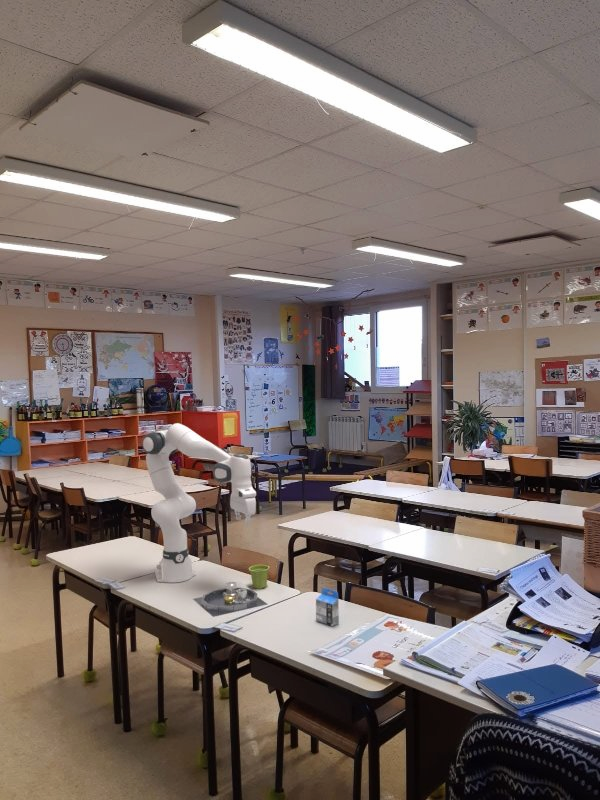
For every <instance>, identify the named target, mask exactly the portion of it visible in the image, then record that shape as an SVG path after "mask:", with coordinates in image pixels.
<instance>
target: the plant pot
mask: <svg viewBox="0 0 600 800" xmlns="http://www.w3.org/2000/svg"><path fill="white" fill-rule="evenodd" d="M269 569H270V566H269V565H266V564H265V565H264V564H256V565H251V566H250V567H248V571H249V573H250V577H251V583H252V587H253V588H255V589H257V590H258V589H263V588H266V587H267V586H268V585H267V584H268V572H269V571H270V570H269Z"/></svg>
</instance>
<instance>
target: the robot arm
mask: <svg viewBox="0 0 600 800" xmlns="http://www.w3.org/2000/svg"><path fill="white" fill-rule="evenodd" d="M141 444H142V449H143V451H144V452H145V453H146V455H145V462H146V467H147V471H148V472H147V473H148V474H149V477H150V481H151V483H152V486H153V488H154V490H155V492H157V493H159V494H160V495H162V496H163V497H164V499H162V500H160V501H158V502H156V503H155V504H153V506H152V507H151V510H150V511H151V512H150V513H151V514H150V515H151V518H152V520H153V521H154V522H155V523H157V524H158V525H159V528H160V529H161V532H162V538H163V550H162V558H161V560H160V561H159V564H156V571H154V575H155V578H156V583H157V582H158V583H163V582H164V583H181V582H186V581H189V580H190V579H192V577H194V576H196V575H197V574H196V572H195V571H193V570H194V569H193V560H192V558H191V557H190V555H189V553H190V551H189V547H188V535H187V534H188V533H187V531H186V529H184V528H182V526H181V523H180V520H182V519H185V518H188V517H189V516H190V515H192V514H194V512H195V511H196V508H197V503H196V500H195V498H194V497H193V496H192V495H190V494H188V493H187V492H186V491H184V489H183V488H182V486H180V484H179V482H178V480H177V477H176V476H175V473H174V470H173V467H172V465H171V463H170V458H169V457H170V455H174V454H176V452H177V451H179V452H181V453H182V455H183V454H184V455H186V456H187V457H189V458H202V459H203V458H204V459H205V458H206V459H209V460H213V461H215V462H216V463H215V465H214V466H213V468H212V475H213V478H214V480H215V481H216V482H217V483H221V484H225V483H231V494H230V499H229V500H230V501H229V505H230V509H232V510H234V514H235V520H237V521H241V520H242V516H241V514H244V515H245V519H244V524H245V525H249V524H250V523H251V517H252V516H254V515H255V514H256V512H257V501H256V496H257V491H256V490H255V489H254V488H253V485H252V484H253V483H252V478H251V477H252V465H251V460H250V459H251V458H250V457H249V455H246V454H244V453H235V454H230V453H228V451H225V450H224V449H223V448H221V447H220V446H217V445H216V444H213V443H212V442H210V441H209V440H206V439H205V438H204V437H202V436H201V435H199V434H198V433H196V432H195V431H193V430H192V429H191V428H189V427H188V426H186V425H184V424H182V423H179V422H177V423H173V424H172V425H170V426H169V427H168V429H161V430H158V431H152V432H149V433H147V434H145V435H144V436H143V438H142V441H141Z"/></svg>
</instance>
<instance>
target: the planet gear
mask: <svg viewBox="0 0 600 800" xmlns="http://www.w3.org/2000/svg"><path fill="white" fill-rule="evenodd" d="M246 589H247V588H246ZM246 589H238V590H236V599H235V600H233V605H238V604H243V603H246V602H248V601H250V599H248V598H247V590H246ZM240 591H243V592H240Z"/></svg>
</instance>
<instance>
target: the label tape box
mask: <svg viewBox="0 0 600 800" xmlns="http://www.w3.org/2000/svg"><path fill="white" fill-rule="evenodd" d="M339 611H340V610H339V592H338V591H337V590H333V589H330V588H326V587H324V586H323V587H322V586H321V594H319V596H318V597H317V598H316V599H315V621H317V622H319V623H322V624H325V625H328V626H331V627H335V626H337V625H339V621H340V620H339V619H340V616H339V615H340V612H339Z"/></svg>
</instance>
